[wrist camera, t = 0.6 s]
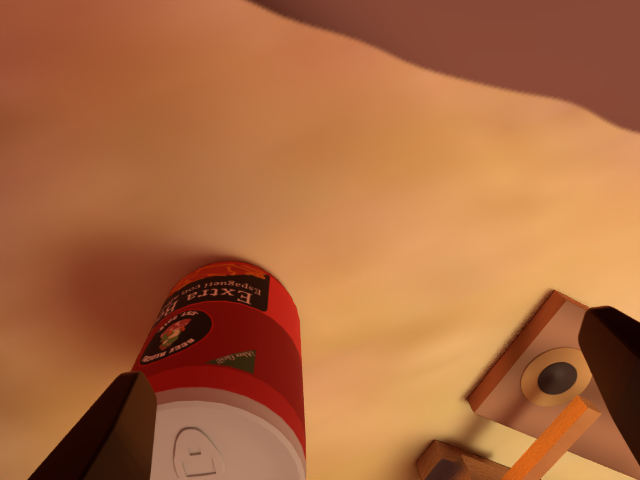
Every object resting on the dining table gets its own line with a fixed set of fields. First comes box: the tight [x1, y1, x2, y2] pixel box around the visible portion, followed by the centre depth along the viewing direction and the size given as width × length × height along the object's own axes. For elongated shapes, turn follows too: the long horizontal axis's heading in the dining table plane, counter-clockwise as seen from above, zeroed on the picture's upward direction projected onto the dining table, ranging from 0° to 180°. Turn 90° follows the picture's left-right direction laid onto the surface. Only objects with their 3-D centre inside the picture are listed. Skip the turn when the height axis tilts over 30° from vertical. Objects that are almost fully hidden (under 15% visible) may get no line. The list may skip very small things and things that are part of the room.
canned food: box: [131, 261, 306, 480], centre depth 21 cm, size 8×8×11 cm
